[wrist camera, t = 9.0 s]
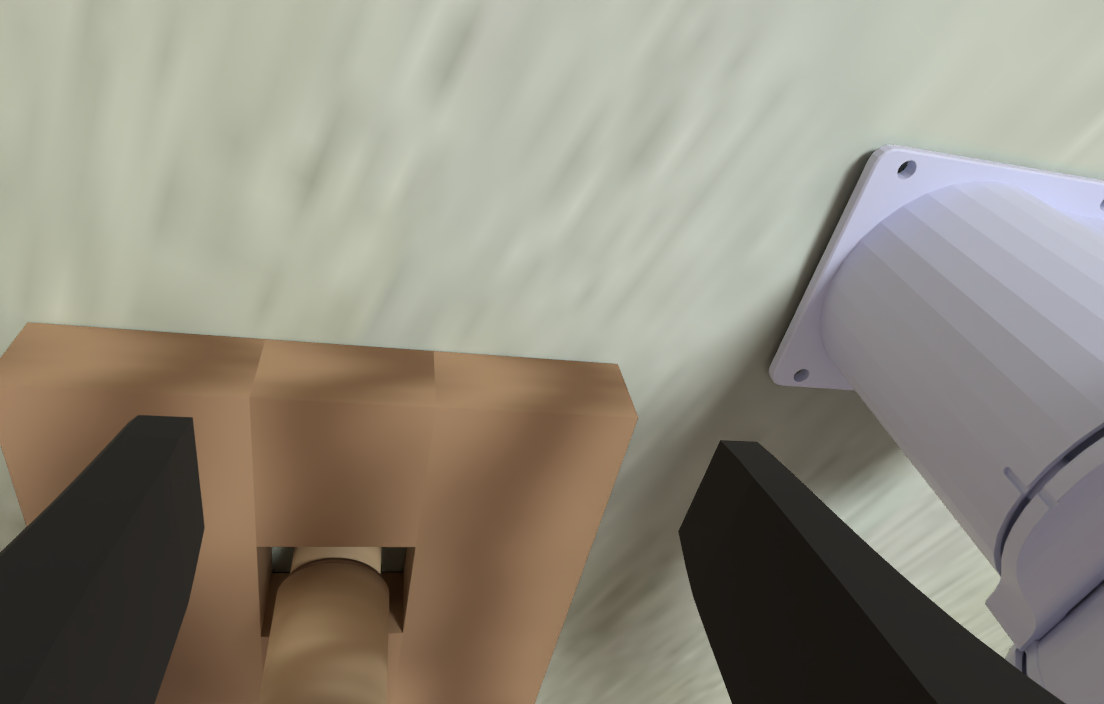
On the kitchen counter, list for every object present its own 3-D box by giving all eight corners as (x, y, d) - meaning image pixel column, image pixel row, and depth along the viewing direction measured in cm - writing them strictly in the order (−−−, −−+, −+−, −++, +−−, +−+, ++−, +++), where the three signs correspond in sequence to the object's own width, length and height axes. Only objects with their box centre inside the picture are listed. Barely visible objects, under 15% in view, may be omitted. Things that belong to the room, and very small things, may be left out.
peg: (390, 490, 24) (383, 734, 17) (391, 555, 26) (385, 794, 19) (284, 494, 23) (236, 749, 17) (293, 559, 25) (254, 809, 19)
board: (617, 364, 22) (637, 417, 20) (524, 653, 31) (532, 709, 29) (27, 322, 18) (-19, 384, 16) (116, 667, 27) (93, 734, 25)
